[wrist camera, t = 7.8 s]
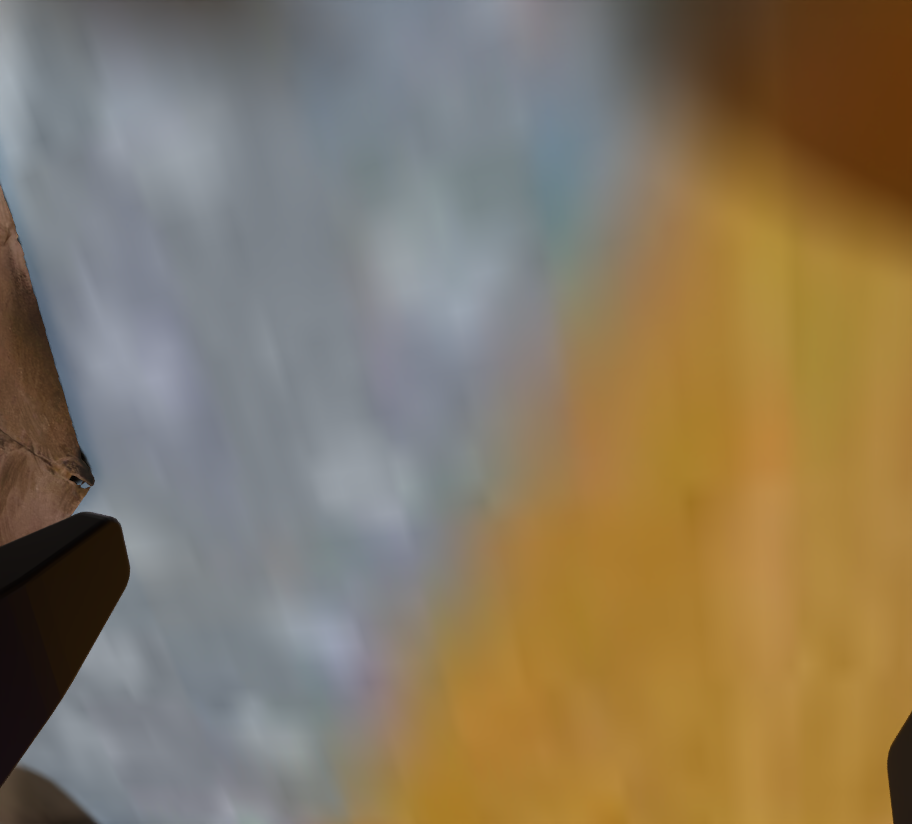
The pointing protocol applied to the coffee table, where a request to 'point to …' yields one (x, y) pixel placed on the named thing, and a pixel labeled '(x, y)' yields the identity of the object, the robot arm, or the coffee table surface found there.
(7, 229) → the wooden fragment
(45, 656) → the robot arm
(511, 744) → the coffee table surface
